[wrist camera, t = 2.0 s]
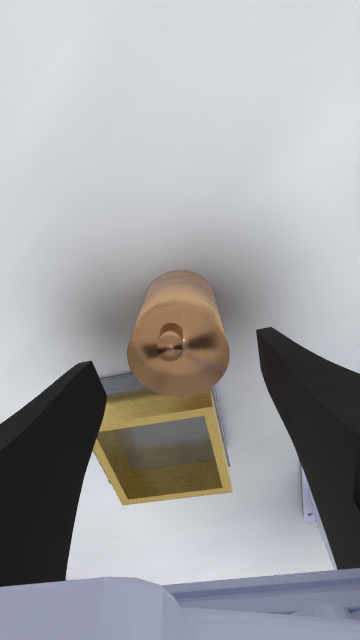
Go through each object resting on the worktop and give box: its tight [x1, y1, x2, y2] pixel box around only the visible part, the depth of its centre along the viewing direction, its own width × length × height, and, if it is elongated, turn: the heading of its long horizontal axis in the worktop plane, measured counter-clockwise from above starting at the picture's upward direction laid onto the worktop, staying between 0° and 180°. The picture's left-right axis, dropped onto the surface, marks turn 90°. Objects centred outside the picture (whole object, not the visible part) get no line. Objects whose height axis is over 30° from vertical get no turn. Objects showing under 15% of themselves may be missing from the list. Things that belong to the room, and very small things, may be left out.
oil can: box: [127, 271, 229, 397], centre depth 14 cm, size 5×5×7 cm
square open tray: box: [93, 373, 232, 505], centre depth 20 cm, size 9×10×4 cm
